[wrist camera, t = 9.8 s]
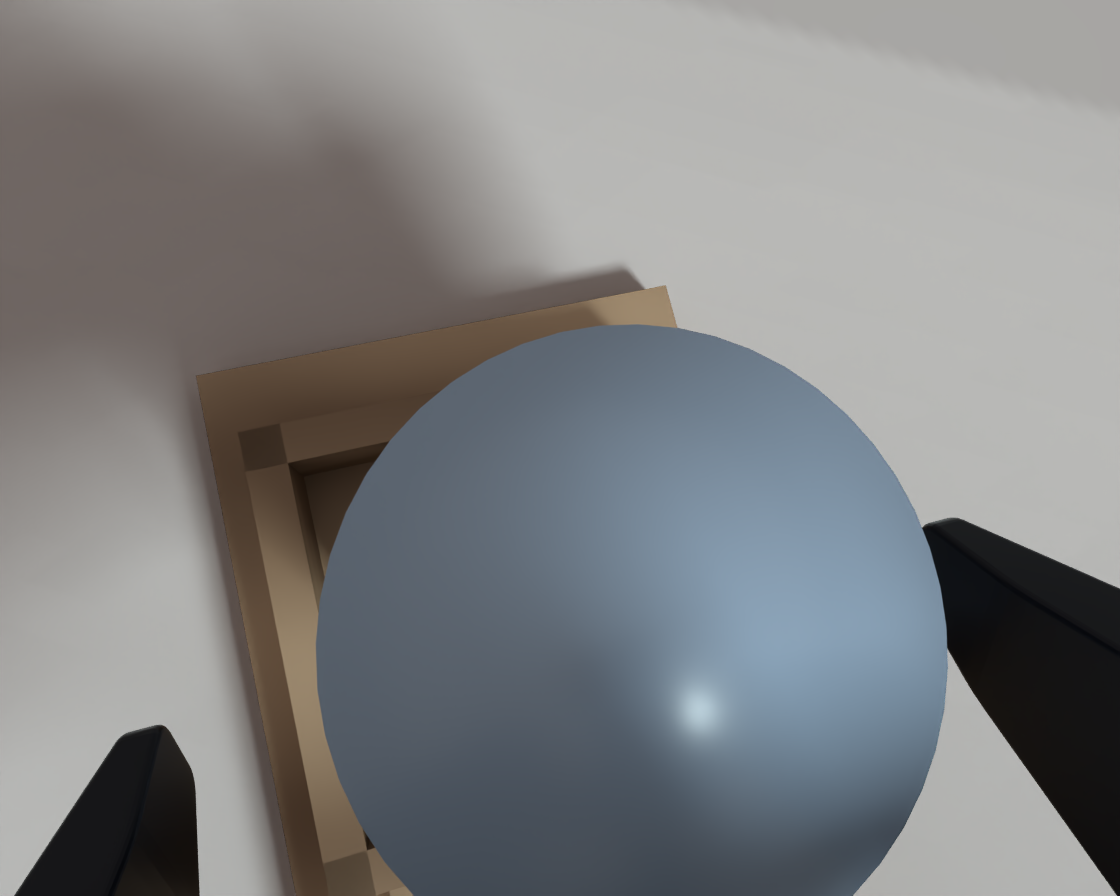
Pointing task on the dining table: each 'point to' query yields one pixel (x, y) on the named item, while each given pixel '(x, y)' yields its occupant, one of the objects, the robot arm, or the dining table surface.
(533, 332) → the wooden compartment tray
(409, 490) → the blue-grey round cylinder
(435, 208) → the dining table surface
